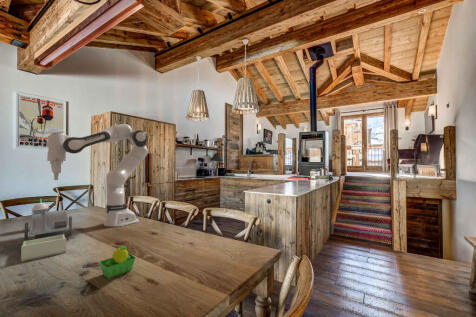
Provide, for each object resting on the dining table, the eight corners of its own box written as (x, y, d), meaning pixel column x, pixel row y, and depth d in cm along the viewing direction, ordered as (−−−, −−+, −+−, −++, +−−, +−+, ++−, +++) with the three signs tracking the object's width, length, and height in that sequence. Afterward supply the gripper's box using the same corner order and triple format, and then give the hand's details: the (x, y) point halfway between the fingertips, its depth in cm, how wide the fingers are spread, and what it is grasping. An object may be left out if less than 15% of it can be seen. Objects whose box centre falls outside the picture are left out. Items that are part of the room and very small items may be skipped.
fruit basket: (127, 264, 94) (128, 238, 94) (137, 270, 88) (137, 243, 88) (98, 274, 85) (98, 246, 85) (106, 282, 79) (107, 252, 80)
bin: (63, 243, 117) (64, 230, 117) (66, 252, 105) (66, 238, 105) (23, 251, 106) (23, 237, 106) (21, 262, 95) (21, 246, 95)
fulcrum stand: (71, 233, 132) (71, 216, 133) (71, 235, 130) (72, 217, 130) (24, 242, 119) (25, 222, 119) (24, 243, 116) (24, 223, 116)
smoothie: (40, 230, 138) (41, 199, 138) (27, 230, 138) (28, 199, 138) (52, 226, 146) (52, 197, 147) (40, 226, 146) (40, 197, 147)
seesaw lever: (65, 211, 140) (65, 206, 140) (68, 229, 120) (69, 223, 119) (31, 215, 129) (31, 210, 129) (29, 235, 109) (29, 229, 108)
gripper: (64, 158, 130) (63, 180, 130) (61, 158, 145) (61, 178, 145) (50, 157, 126) (50, 181, 126) (49, 158, 141) (49, 179, 141)
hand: (56, 180), depth 135 cm, fingers closed
